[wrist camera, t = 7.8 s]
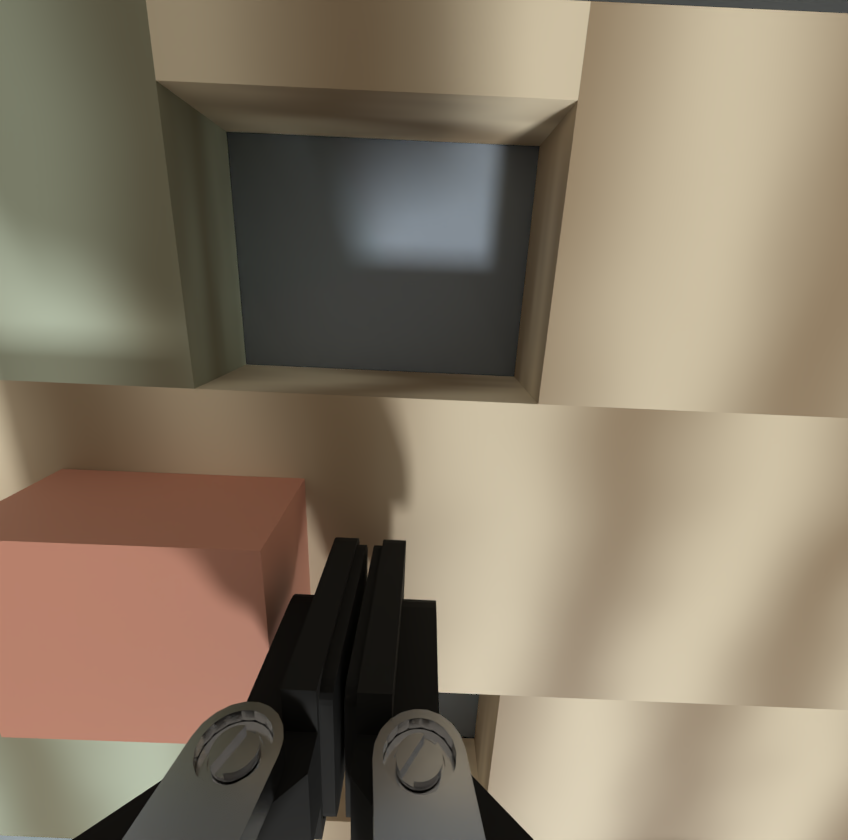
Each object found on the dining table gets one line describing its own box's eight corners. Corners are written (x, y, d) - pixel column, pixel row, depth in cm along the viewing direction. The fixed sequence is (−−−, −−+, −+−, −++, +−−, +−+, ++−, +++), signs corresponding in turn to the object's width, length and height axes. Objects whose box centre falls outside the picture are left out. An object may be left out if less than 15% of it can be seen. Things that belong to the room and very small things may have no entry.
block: (305, 478, 11) (260, 551, 8) (312, 638, 12) (278, 747, 9) (62, 468, 11) (-71, 537, 8) (100, 630, 12) (1, 737, 9)
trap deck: (1076, 100, 11) (1599, -43, 6) (781, 777, 18) (907, 955, 13) (-314, 35, 11) (-925, -165, 6) (-33, 742, 18) (-199, 909, 13)
